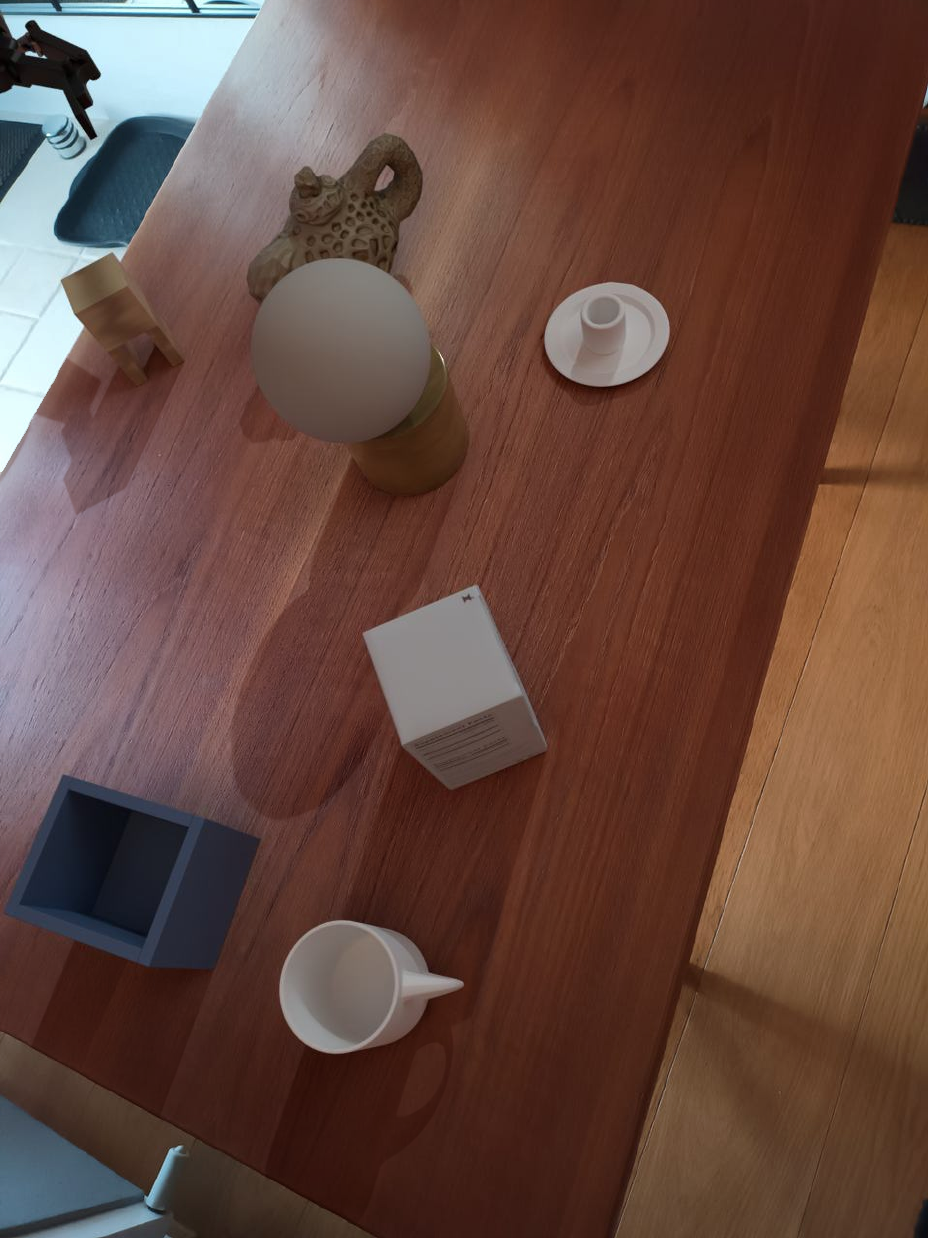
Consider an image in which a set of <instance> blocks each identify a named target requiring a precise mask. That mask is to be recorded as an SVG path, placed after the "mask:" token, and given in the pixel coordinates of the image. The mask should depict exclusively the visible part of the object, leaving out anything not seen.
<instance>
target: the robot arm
mask: <svg viewBox="0 0 928 1238" xmlns="http://www.w3.org/2000/svg"><path fill="white" fill-rule="evenodd" d="M24 28H25V30H26V32H25V33H24V34H23V35H22V36H20V37H18V38H15V37H13V35H12V32H11V30H10V28H9V26H8V24H7V22H6V20H5V16H4V14H3V12H2V10H1V9H0V95H1V94H4V93H7V92H8V91H10V90H12V89H13V87H14V86H16V87H21V88H27V89H31V88H32V86H35V87H36V86H37V87H41V88H47V89H52V90H53V89H54V90H58V91H62V92H63V94H64V96H65V99H66V101H67V103H68V106H69V107H70V109H71V113H72V114H73V116H74V117H75V118H74V119H76V121H77V122H78V124H79V125H80V127H81V128H82V130H83V131H84V133H85V134H86V136H87V137H88V139H89V140H90V141H93V140H95V139H96V138H98V137H99V136H98V134H97V132H96V130H95V127H94V126H93V124H92V121H91V119H90V117H89V115H88V113H87V111H86V110H87V109H89V108H91V107H93V106H94V99H93V98H92V95H91V93H90V91H89V88H88V85H87V84H88V82H89V81H92V82H94V81H95V82H96V81H97V80H99V79H100V78H101V76H102V73H101V71H100V69H99V68H98V65H97V64H96V63H95V61H94V59H93V58H92V57H91V54H90V53H89V51H88V50H87V49H85V48H83V47H81V46H78V45H76V44H74V43H72V42H70V41H68V40H65V39H63V38H61V37H59V36H57V35H55V34H52V33H50V32H48V31H46V30H43V29H42V28H41V27H40V26H39V24H38V23H37V21H36V20H35V19H30V20H28V21H27V22H26V23H25V24H24ZM28 52H31V53H33V54H36V55H37V56H35V55H28V54H26V53H28Z"/></svg>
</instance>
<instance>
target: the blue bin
mask: <svg viewBox="0 0 928 1238" xmlns="http://www.w3.org/2000/svg"><path fill="white" fill-rule="evenodd" d="M260 843H261V838H260V837H257V836H254V835H252V834H249V833H247V832H244V831H241V830H238V829H236V828H233V827H231V826H227V825H225V824H222V823H220V822H217V821H214V820H211V819H209V818H206V817H203V816H200V815H196V814H194V813H190V812H188V811H184V810H181V809H178V808H174V807H171V806H167V805H165V804H162V803H158V802H155V801H151V800H149V799H145V798H142V797H138V796H135V795H132V794H128V793H126V792H122V791H119V790H116V789H113V788H110V787H108V786H107V787H106V786H103V785H100V784H98V783H93V782H90V781H87V780H83V779H80V778H78V777H74V776H71V775H68V774H64V773H63V774H62V775H61V778H60V780H59V782H58V784H57V787H56V789H55V791H54V794H53V796H52V798H51V800H50V802H49V806H48V807H47V809H46V812H45V815H44V816H43V819H42V821H41V824H40V826H39V829H38V831H37V833H36V836H35V838H34V840H33V842H32V845H31V847H30V849H29V852H28V854H27V857H26V859H25V861H24V864H23V865H22V868H21V870H20V873H19V875H18V876H17V880H16V882H15V884H14V887H13V889H12V891H11V894H10V896H9V899H8V900H7V903H6V905H5V908H4V909H3V915H5V916H8V917H11V918H14V919H16V920H18V921H22V922H24V923H26V924H30V925H33V926H36V927H38V928H40V929H43V930H46V931H49V932H51V933H55V934H57V935H58V936H59V935H60V936H62V937H65V938H67V939H70V940H73V941H76V942H79V943H82V944H84V945H87V946H90V947H92V948H95V949H97V950H101V951H103V952H106V953H109V954H111V955H115V956H116V957H119V958H122V959H125V960H128V961H130V962H133V963H136V964H138V965H142V966H144V967H147V968H162V969H164V968H166V969H192V970H193V969H194V970H214V969H215V967H216V964H217V962H218V960H219V956H220V955H221V951H222V948H223V946H224V942H225V939H226V937H227V935H228V932H229V928H230V926H231V924H232V920H233V918H234V915H235V912H236V909H237V906H238V904H239V901H240V898H241V895H242V893H243V890H244V887H245V884H246V882H247V878H248V876H249V874H250V870H251V867H252V865H253V862H254V859H255V856H256V853H257V851H258V848H259V846H260Z"/></svg>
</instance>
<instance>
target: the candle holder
mask: <svg viewBox="0 0 928 1238" xmlns="http://www.w3.org/2000/svg"><path fill="white" fill-rule="evenodd" d="M670 328H671V327H670V321H669V318H668V315H667V312H666V310H665V309H664V307H663V305H662V304H661V302H660V301H658V299H657V298H655V297H654V296H653V295H652V294H651V293H649V292H647V291H646V290H644V289H642V288H641V287H638V286H637V285H634V284H630V283H621V282H614V281H609V282H603V283H597V284H594V285H589V286H587V287H585V288H582V289H580V290H578V291H575V292H574V293H572V294H571V295H569V296H568V297H566V298H565V299H564V300H563V301H562V302H561V303H560V304H558V306H557V307H556V308H555V310H554V311H553V312H552V314H551V315H550V316H549V318H548V321H547V324H546V326H545V331H544V339H543V340H544V348H545V353H546V355H547V357H548V359H549V361H550V363H551V364H552V366H553V367H554V368H555V370H557V371H558V372H559V373H560V374H561V375H562V376H564V377H565V378H567V379H569V380H571V381H573V382H575V383H578V384H581V385H585V386H589V387H598V388H599V387H603V388H604V387H614V386H618V385H622V384H626V383H628V382H629V383H630V382H632V381H633V380H636V379H638V378H639V377H641V376H643V375H644V374H646V373H647V372H648V371H650V370H651V369H652V368H653V367H655V365H656V364H657V363H658V361H660V359H661V357H662V356H663V354H664V352H665V351H666V348H667V346H668V343H669V340H670V333H671V332H670Z"/></svg>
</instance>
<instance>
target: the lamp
mask: <svg viewBox="0 0 928 1238" xmlns="http://www.w3.org/2000/svg"><path fill="white" fill-rule="evenodd" d="M250 354H251V364H252V368H253V369H252V370H253V373H254V377H255V380H256V382H257V384H258V387H259V389H260V391H261V394H262V395H263V397H264V398H265V400H266V401H267V403H268V405H269V406H270V407H271V408H272V410H273V411H274V412H275V413H276V414H277V415H278V416H279V417H280V419H282V421H284V422H285V423H286V424H287V425H289V426H290V427H292V428H293V429H295V430H296V431H298V432H299V433H301V434H304V435H305V436H308V437H310V438H312V439H315V440H318V441H322V442H326V443H333V444H345V446H346V448H347V450H348V452H349V453H350V455H351V457H352V458H353V460H354V461H355V463H356V465H357V467H358V468H359V470H360V472H361V474H362V475H363V476H364V478H365V479H366V480H367V481H368V482H369V483H370V484H371V485H372V486H373V487H375V488H376V489H377V490H379V491H382V492H384V493H387V494H390V495H393V496H402V497H409V496H412V497H413V496H418V495H419V496H420V495H422V494H425V493H428V492H431V491H433V490H435V489H437V488H439V487H441V486H442V485H444V484H445V483H446V482H447V481H449V480H450V479H451V478H452V477H453V476H454V475H455V474H456V473H457V472H458V470H459V469H460V467H461V466H462V464H463V463H464V460H465V458H466V455H467V452H468V448H469V441H470V438H469V437H470V435H469V429H468V426H467V422H466V419H465V417H464V414H463V410H462V408H461V405H460V402H459V399H458V396H457V393H456V390H455V388H454V384H453V382H452V379H451V375H450V372H449V370H448V367H447V364H446V362H445V359H444V357H443V355H442V354H441V351H440V350H438V348H437V347H436V346H435V345H434V344H433V343H432V342H431V339H430V333H429V330H428V326H427V323H426V319H425V318H424V315H423V313H422V311H421V308H420V307H419V305H418V304H417V301H416V300H415V299H414V298H413V296H412V295H411V293H410V292H409V290H407V289H406V288H405V287H404V286H403V284H402V283H400V282H399V281H398V280H397V279H396V278H394V276H392V275H391V274H390V273H389V274H388V273H386V272H384V271H383V270H381V269H379V268H377V267H375V266H373V265H370V264H368V263H365V262H362V261H358V260H353V259H345V258H332V259H323V260H318V261H314V262H311V263H308V264H305V265H303V266H301V267H299V268H297V269H295V270H293V271H292V272H290V273H289V274H287V275H286V276H285V277H284V278H282V279H281V280H280V281H279V282H278V283H277V284H276V285H275V286H274V287H273V289H272V290H271V291H270V292H269V293H268V295H267V296H266V298H265V299H264V301H263V303H262V305H261V306H260V307H259V309H258V312H257V313H256V316H255V319H254V323H253V327H252V331H251V340H250Z"/></svg>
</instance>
